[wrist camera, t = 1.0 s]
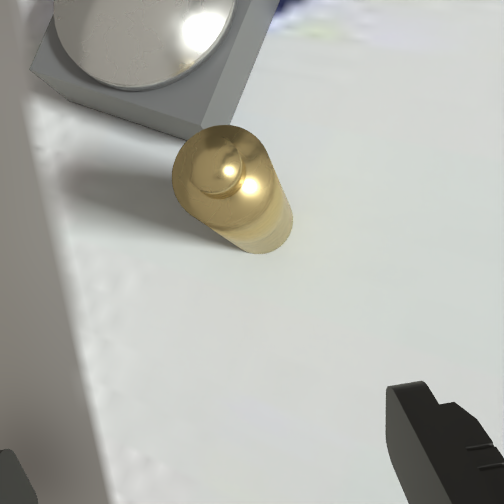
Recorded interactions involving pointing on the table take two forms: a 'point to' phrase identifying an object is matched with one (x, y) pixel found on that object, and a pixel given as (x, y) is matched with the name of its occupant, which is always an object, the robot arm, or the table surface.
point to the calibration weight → (233, 188)
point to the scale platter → (142, 38)
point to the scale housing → (177, 94)
